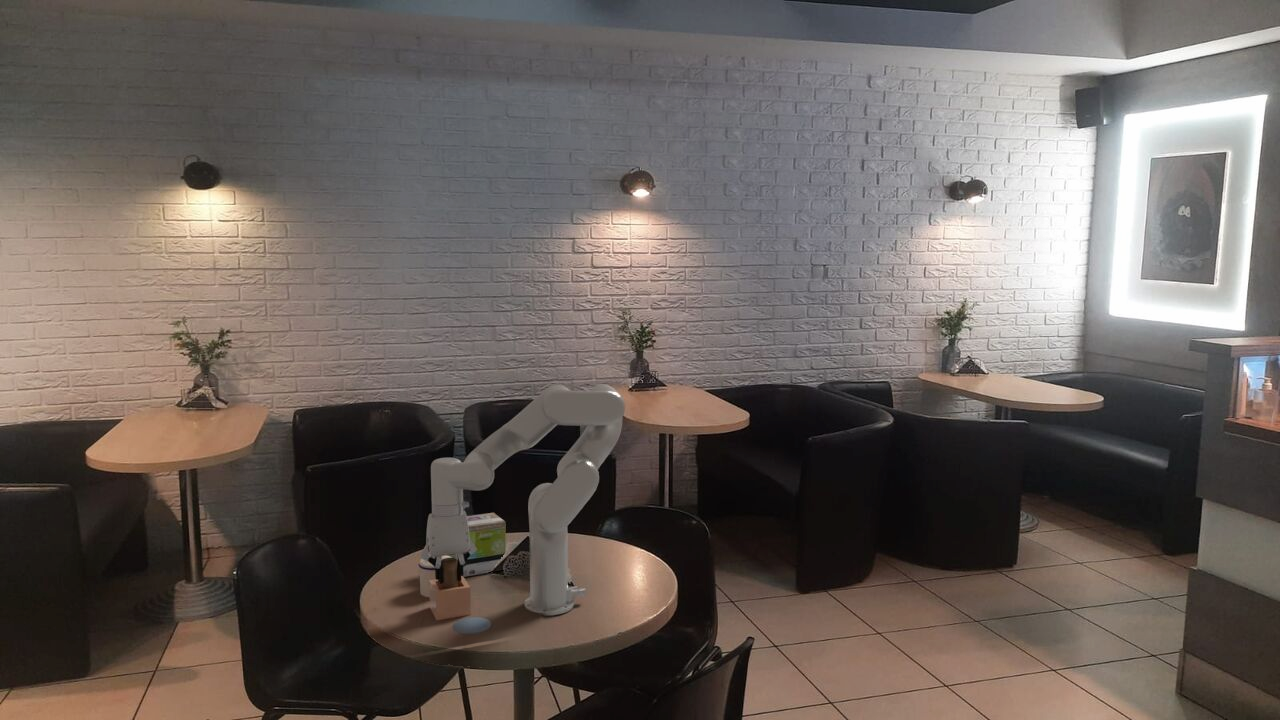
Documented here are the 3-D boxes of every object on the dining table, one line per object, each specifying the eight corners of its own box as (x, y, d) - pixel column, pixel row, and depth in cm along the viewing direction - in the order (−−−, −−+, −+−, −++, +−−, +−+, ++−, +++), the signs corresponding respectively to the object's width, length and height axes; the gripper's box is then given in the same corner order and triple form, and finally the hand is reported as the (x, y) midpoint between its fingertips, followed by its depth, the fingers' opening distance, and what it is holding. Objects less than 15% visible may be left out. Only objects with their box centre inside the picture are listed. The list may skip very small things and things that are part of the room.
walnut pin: (456, 606, 220) (455, 556, 218) (460, 612, 216) (458, 561, 215) (440, 609, 218) (439, 558, 217) (443, 615, 215) (442, 564, 213)
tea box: (455, 580, 240) (453, 528, 238) (443, 569, 248) (442, 518, 246) (506, 570, 247) (505, 520, 245) (494, 559, 256) (493, 510, 254)
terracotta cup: (463, 604, 223) (462, 575, 222) (470, 617, 215) (470, 587, 214) (429, 610, 220) (429, 580, 219) (436, 623, 212) (435, 592, 211)
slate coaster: (485, 618, 215) (485, 614, 215) (495, 632, 207) (495, 629, 207) (449, 624, 212) (449, 621, 211) (457, 639, 203) (457, 636, 203)
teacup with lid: (453, 599, 226) (452, 556, 225) (417, 601, 225) (416, 558, 224) (456, 582, 238) (455, 541, 237) (422, 584, 237) (421, 542, 235)
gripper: (477, 500, 221) (479, 570, 223) (410, 508, 214) (412, 580, 216) (485, 508, 214) (486, 580, 216) (415, 517, 207) (418, 591, 210)
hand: (449, 579), depth 216 cm, fingers closed on walnut pin, 4 cm apart
